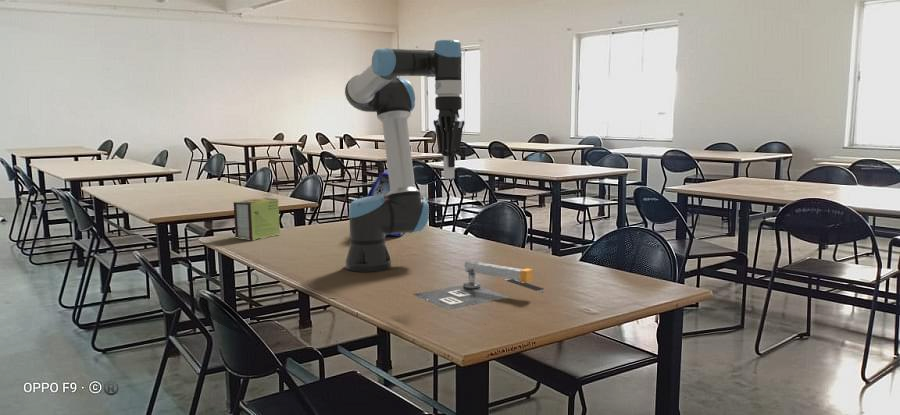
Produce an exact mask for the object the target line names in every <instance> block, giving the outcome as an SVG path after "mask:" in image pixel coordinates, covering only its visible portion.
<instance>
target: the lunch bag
mask: <svg viewBox="0 0 900 415" xmlns="http://www.w3.org/2000/svg"><path fill="white" fill-rule="evenodd" d="M373 182H374V183H373V185H372V186H371V188H370V190H369V191H368V193H367V195H366V197H369V196H383V197H384V199H385V200H387V194H388V193H389V192H390V183H389V174H388V169H387V170H384V172H382V173H380V174H379V176H377V178H376V179H375V180H374V181H373ZM403 234H404V233H398V234H387V235H385V237H386V236H395V237H401V236H402V235H403Z"/></svg>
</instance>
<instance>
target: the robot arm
mask: <svg viewBox="0 0 900 415" xmlns="http://www.w3.org/2000/svg"><path fill="white" fill-rule="evenodd" d="M462 56H463V53H462V43H461V41H459V40H458V39H457V40H456V39H439V40H436V41H435V43H434V49H403V48H402V49H400V48H399V49H398V48H387V47H386V48H378V49H375V50H374V51H373V53H372V56H371V64H370V65H369V66H368V67H367V68H365V70H364V71H363V72H362V73H360V74H356V75H354V76H353V77H351V78H350V79H349V80H348V81H347V83H346V84H345V88H344V94H345V97H346V100H347V101H348V103H349V104H350V105H351V106H352V107H353V108H355V109H357V110H358V111H361V112H364V113H365V112H366V113H370V112H371V113H376V118H377V119H378V120H379V121H380V122H381V123H382V130H383V132H382V133H383V140H384V146H385V155H386V165H387V170H388V174H389V183H390V192H389V193H388V194H387V200H385V199H384V197H383V196H369V197H367V196H365V197H360V198H357V199H356V198H355V199H354V200H353V201H351V202H350V204H349V208H348V209H349V210H348V211H349V212H348V218H349V239H350V240H349V243H350V245H349V249H348V252H347V254H346V258H345V269H346V270H349V271H351V272H360V273H363V272H364V273H365V272H367V273H368V272H379V271H384V270H387V269H390V268H392V259H391V255H390V252H389V251H388V248H387V245H386V236H388V235H387V234H398V233H403V234H406V233H407V234H408V233H409V234H412V233H415V232H416V233H417V232H421V231H423V230H424V229H425V228H426V226H427V223H428V220H429V214H430V209H429V203H428V200H427V198H425V197H424V196H422V195H421V194H422V193H421V190H419V189H418V188H417V187H416V183H415V173H414V166H413V165H414V164H413V158H412V150H411V143H410V142H411V141H410V133H409V132H410V131H409V125H408V119H409V118H410V117H411V115H412V114H411V112H412V111H414V109H415V106H416V93H415V91H414V87H413V85H412V84H411V82H410V81H409V80H408V79H407V78H403V77H427V78H430V77H431V78H434V82H435V84H434V88H435V90H434V91H435V92H434V93H435V95H437V96H436V97H435V98H434V101H435V102H434V104H435V110H437V111H438V115H437V117H438V118H437V119H434V120H433V125H434V129H435V135H436V143H437V148H438V149H437V151H438V153H439V154H441V156H443V158H442V159H443V179H444V180H450V179H451V180H452V179H455V165H456V164H455V163H456V160H455V159H456V156H457V155H459V154H460V152H461V144H462V136H463V129H464V126H465V120H461V119H460V113H459V110H462V109H463V108H462V106H463V104H462V101H463V99H462V98H463V97H462V96H460V95H462V94H463V93H462V90H463V88H462V87H463V86H462ZM385 235H386V236H385Z"/></svg>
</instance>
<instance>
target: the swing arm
mask: <svg viewBox="0 0 900 415" xmlns="http://www.w3.org/2000/svg"><path fill="white" fill-rule="evenodd" d="M464 271H465V273H469V272H475V274H481V275H486V276H491V277H492V276H493V277H498V278H504V279H505V278H506V279H515V280H519V281H520V282H523V283H528V284H529V283H531V282H533V280H534V279H533V276H534V272H533V271H534V269H533V268H527V267H526V268H519V267H518V268H517V267H510V266H504V265H498V264H493V263H492V264H491V263H488V262H487V263H485V262H481V261H478V260H477V261H476V260H466V261H465V262H464Z"/></svg>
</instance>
